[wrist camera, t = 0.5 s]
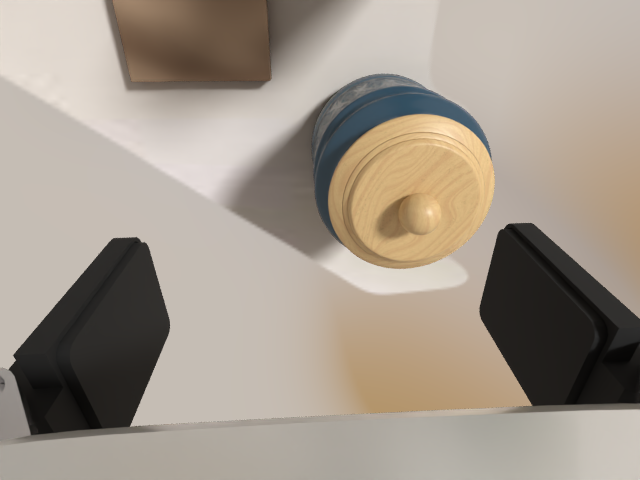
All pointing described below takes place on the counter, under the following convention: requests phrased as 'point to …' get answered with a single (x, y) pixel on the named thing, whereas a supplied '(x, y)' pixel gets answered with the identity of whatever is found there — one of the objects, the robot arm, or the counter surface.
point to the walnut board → (195, 39)
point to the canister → (400, 172)
